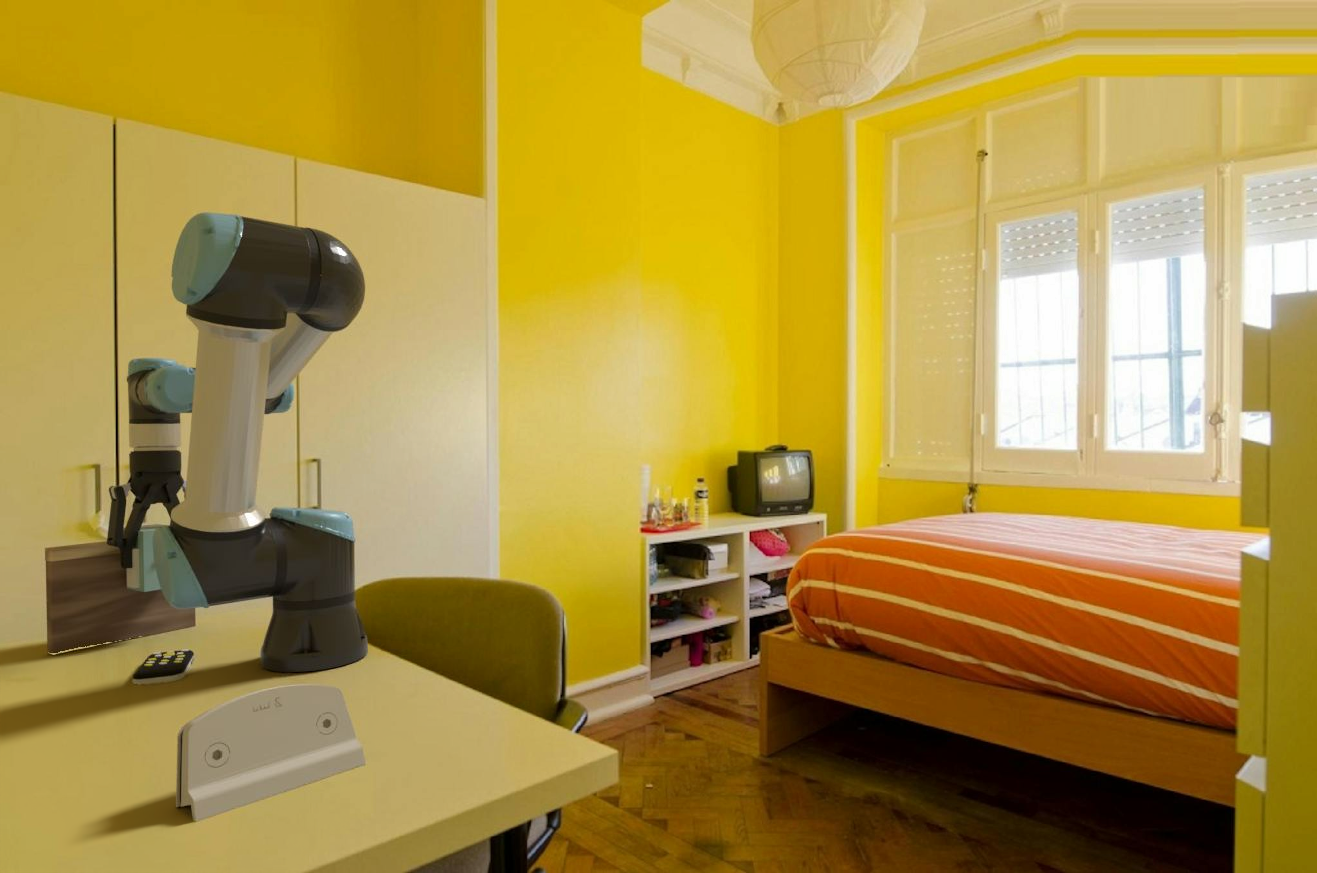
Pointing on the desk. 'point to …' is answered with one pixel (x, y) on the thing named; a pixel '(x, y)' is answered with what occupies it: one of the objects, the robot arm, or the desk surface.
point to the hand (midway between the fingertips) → (158, 583)
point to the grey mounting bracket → (263, 747)
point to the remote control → (164, 667)
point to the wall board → (100, 600)
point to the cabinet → (146, 559)
